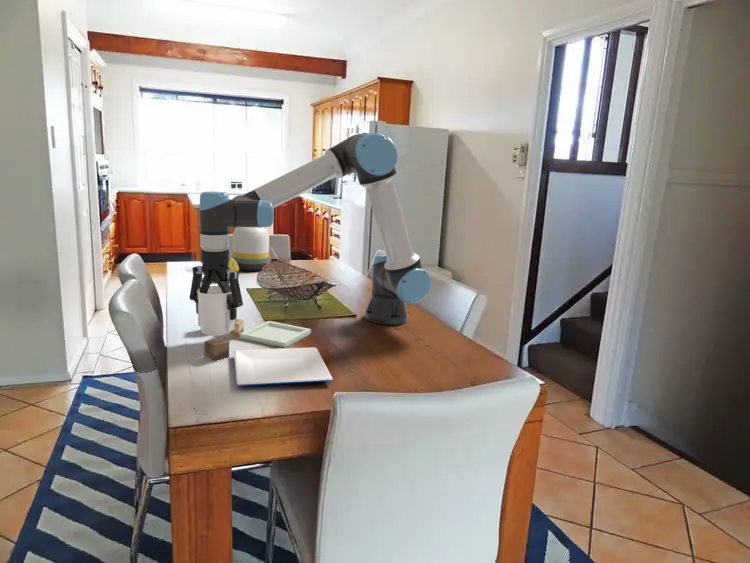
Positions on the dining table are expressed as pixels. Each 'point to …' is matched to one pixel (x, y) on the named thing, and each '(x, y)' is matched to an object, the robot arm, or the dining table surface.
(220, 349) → the walnut block
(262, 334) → the tray
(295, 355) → the plate
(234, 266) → the fruit
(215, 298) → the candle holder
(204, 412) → the dining table surface
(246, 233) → the vase
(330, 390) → the dining table surface
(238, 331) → the oak block
